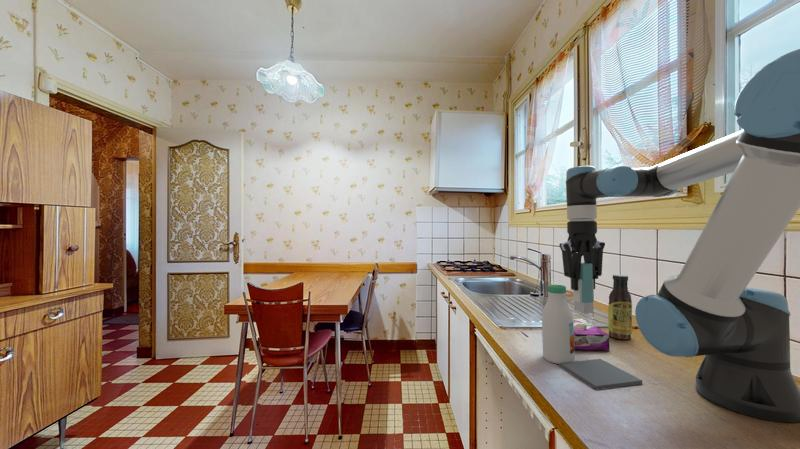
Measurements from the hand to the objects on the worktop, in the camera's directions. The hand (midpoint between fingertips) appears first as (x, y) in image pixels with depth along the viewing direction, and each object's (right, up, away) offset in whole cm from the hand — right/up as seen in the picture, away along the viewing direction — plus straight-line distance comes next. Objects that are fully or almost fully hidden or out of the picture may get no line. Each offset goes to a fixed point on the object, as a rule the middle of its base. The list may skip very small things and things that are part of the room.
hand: (583, 300), depth 91 cm
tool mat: (-5, -14, -15) cm, 21 cm away
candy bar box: (+1, -12, -1) cm, 12 cm away
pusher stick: (0, -3, 0) cm, 3 cm away
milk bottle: (-10, -15, -6) cm, 19 cm away
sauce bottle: (+17, -14, +9) cm, 24 cm away
